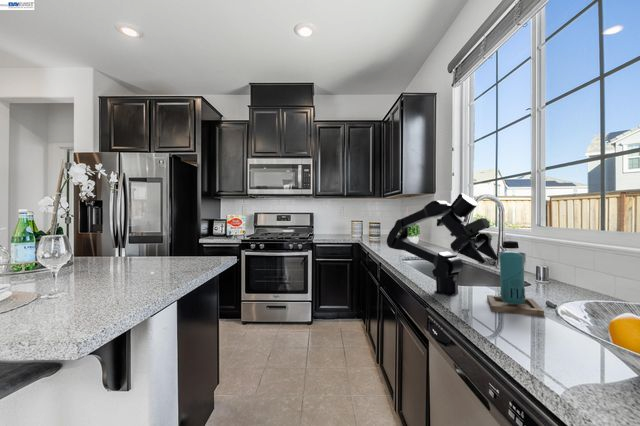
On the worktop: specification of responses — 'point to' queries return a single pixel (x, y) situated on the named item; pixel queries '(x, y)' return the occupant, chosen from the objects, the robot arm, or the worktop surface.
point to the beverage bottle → (512, 275)
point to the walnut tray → (515, 306)
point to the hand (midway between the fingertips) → (490, 261)
